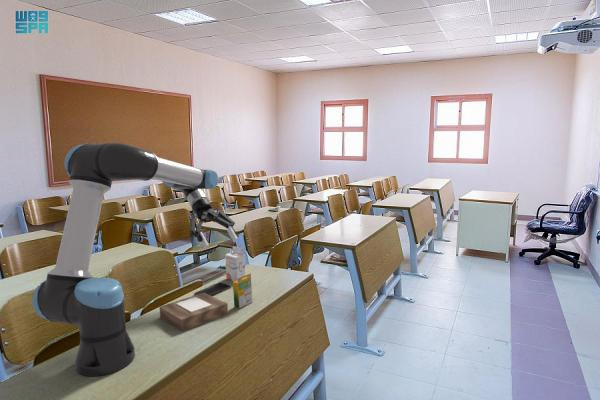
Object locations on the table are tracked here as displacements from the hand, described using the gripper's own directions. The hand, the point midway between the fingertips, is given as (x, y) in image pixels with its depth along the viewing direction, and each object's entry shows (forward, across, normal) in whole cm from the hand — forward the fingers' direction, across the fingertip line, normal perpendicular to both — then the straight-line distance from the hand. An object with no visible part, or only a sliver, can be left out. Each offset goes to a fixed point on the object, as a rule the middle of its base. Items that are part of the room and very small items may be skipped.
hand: (221, 243), depth 157 cm
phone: (+10, 0, -21) cm, 24 cm away
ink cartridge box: (+7, -14, -24) cm, 29 cm away
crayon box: (+25, +1, -6) cm, 25 cm away
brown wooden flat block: (+21, +19, -9) cm, 29 cm away
